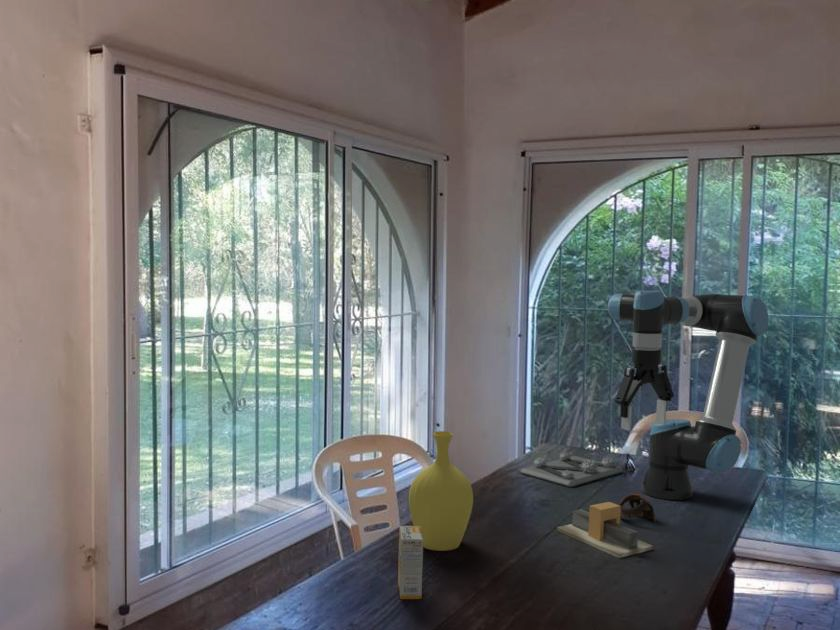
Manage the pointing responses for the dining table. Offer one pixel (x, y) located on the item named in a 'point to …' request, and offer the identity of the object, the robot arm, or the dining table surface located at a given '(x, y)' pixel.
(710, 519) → the dining table surface
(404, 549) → the supplement box
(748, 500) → the dining table surface
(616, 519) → the clip
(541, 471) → the decorative plate
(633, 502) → the pottery mug
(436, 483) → the vase
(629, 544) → the rail block
